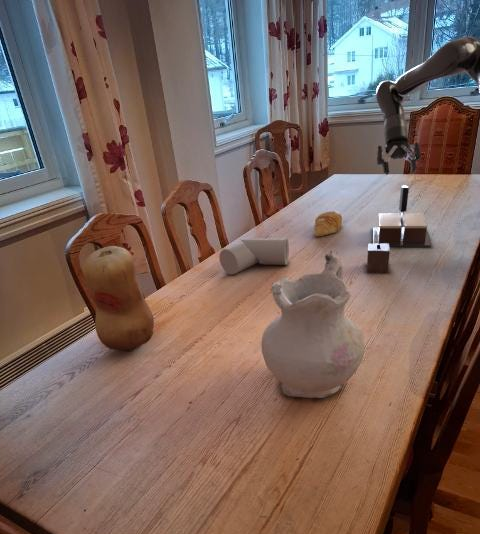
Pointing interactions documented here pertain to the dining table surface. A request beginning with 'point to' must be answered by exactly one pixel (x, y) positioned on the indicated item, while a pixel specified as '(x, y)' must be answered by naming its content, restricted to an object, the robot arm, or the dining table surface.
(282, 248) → the bent grey cylinder
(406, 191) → the knife
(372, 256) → the knife block
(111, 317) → the butternut squash
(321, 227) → the croissant
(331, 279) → the ceramic pitcher
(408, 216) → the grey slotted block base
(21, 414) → the dining table surface
